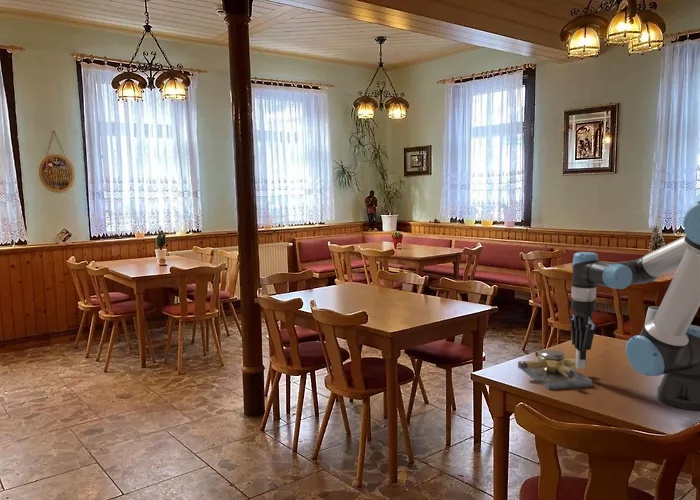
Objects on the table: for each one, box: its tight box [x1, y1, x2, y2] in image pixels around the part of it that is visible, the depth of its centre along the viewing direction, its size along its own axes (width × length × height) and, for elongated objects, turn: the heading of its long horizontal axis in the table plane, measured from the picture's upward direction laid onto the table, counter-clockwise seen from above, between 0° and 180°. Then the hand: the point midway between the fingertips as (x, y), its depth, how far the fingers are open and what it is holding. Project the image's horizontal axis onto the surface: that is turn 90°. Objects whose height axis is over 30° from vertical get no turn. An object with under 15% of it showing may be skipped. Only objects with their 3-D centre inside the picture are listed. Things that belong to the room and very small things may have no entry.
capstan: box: [520, 349, 587, 378], centre depth 194 cm, size 24×24×5 cm
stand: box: [517, 357, 593, 390], centre depth 194 cm, size 22×15×3 cm
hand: (580, 367), depth 192 cm, fingers closed
